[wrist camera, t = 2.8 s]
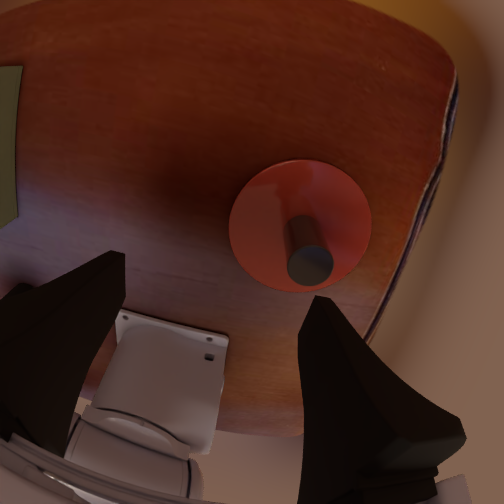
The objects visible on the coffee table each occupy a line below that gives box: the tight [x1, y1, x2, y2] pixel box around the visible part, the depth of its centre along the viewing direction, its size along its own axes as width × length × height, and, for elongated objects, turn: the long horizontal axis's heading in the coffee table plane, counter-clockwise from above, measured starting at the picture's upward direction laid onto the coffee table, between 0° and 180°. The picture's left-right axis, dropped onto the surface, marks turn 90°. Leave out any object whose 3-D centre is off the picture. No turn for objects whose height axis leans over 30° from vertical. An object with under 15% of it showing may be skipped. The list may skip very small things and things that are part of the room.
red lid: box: [228, 158, 372, 292], centre depth 17 cm, size 9×9×5 cm
